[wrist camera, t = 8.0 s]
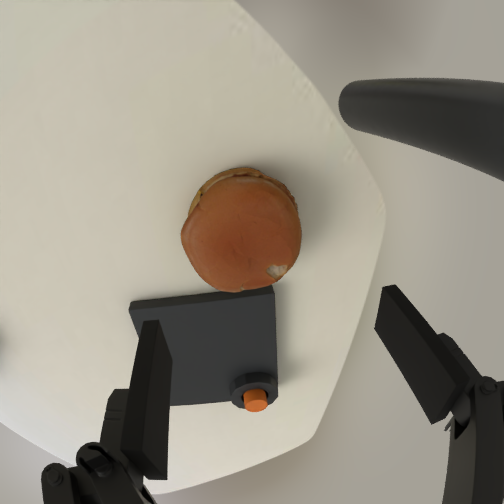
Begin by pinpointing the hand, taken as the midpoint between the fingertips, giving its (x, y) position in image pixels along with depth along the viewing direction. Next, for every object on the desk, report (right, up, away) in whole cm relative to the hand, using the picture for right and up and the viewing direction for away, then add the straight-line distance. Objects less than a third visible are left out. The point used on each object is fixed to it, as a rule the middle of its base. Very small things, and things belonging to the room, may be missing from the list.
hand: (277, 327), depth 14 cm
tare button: (-1, -13, +19) cm, 23 cm away
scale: (-6, -8, +19) cm, 21 cm away
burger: (-2, +6, +13) cm, 14 cm away
